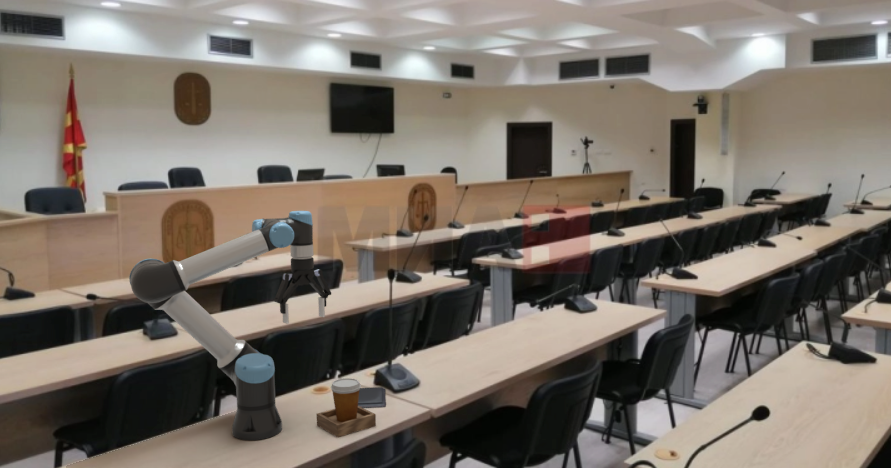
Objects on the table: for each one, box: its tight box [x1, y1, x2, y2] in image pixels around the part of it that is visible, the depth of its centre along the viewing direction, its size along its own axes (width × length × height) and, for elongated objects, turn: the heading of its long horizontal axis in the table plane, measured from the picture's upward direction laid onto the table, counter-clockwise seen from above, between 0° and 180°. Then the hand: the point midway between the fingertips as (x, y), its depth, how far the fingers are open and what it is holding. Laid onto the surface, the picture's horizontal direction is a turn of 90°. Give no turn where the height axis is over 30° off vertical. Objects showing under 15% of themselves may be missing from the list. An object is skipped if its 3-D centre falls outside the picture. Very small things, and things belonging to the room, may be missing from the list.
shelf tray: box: [316, 406, 377, 438], centre depth 230 cm, size 14×13×4 cm
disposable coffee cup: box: [330, 377, 362, 422], centre depth 229 cm, size 10×10×12 cm
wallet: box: [358, 386, 387, 409], centre depth 255 cm, size 20×2×15 cm
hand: (304, 319), depth 243 cm, fingers open, 13 cm apart
